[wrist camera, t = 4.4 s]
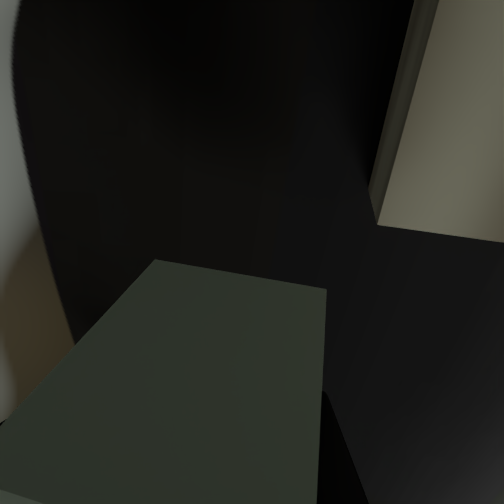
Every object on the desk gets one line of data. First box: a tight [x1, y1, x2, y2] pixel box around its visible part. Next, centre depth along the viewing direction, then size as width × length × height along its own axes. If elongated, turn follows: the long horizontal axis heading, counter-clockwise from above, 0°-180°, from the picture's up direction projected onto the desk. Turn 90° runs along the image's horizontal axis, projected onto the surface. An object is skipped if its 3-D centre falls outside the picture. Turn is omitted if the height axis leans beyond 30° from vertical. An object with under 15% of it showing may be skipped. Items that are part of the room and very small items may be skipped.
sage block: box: [0, 260, 326, 504], centre depth 8 cm, size 5×5×6 cm
